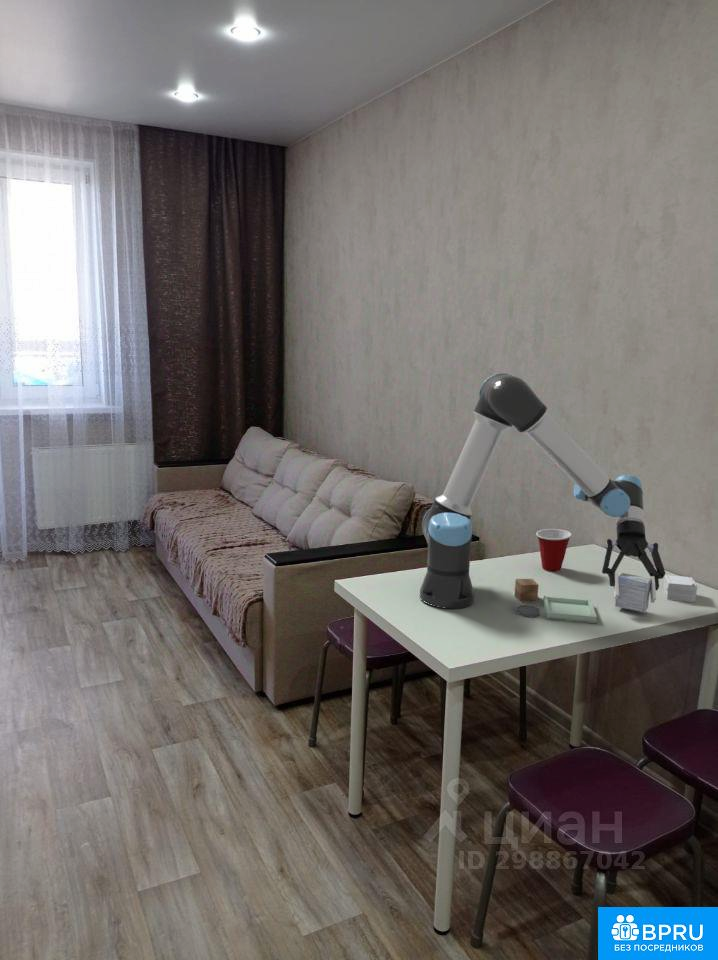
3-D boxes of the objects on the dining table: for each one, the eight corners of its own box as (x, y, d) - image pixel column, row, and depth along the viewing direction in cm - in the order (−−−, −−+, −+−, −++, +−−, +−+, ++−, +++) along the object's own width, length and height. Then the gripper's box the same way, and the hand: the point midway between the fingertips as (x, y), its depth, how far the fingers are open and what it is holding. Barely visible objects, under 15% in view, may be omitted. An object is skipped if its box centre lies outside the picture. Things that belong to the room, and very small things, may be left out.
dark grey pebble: (516, 617, 193) (517, 611, 192) (515, 608, 199) (516, 603, 198) (540, 619, 192) (540, 613, 192) (538, 610, 198) (538, 605, 197)
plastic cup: (527, 563, 236) (530, 528, 234) (558, 562, 238) (561, 527, 236) (542, 575, 226) (545, 537, 223) (574, 573, 228) (577, 536, 225)
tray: (546, 619, 191) (547, 612, 191) (543, 601, 203) (543, 595, 203) (596, 623, 189) (597, 616, 189) (589, 605, 201) (590, 599, 201)
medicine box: (648, 608, 198) (652, 578, 196) (644, 613, 194) (648, 582, 192) (618, 601, 202) (621, 572, 200) (614, 606, 198) (617, 576, 197)
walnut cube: (519, 601, 203) (521, 584, 202) (514, 595, 208) (515, 578, 207) (537, 601, 204) (538, 584, 203) (531, 595, 208) (532, 578, 207)
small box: (662, 590, 215) (664, 574, 214) (691, 593, 213) (693, 577, 212) (666, 599, 208) (668, 582, 207) (695, 603, 206) (698, 585, 205)
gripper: (666, 535, 208) (673, 608, 196) (589, 529, 211) (590, 600, 199) (673, 522, 202) (681, 596, 189) (593, 515, 205) (595, 588, 193)
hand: (635, 598), depth 194 cm, fingers closed on medicine box, 9 cm apart
